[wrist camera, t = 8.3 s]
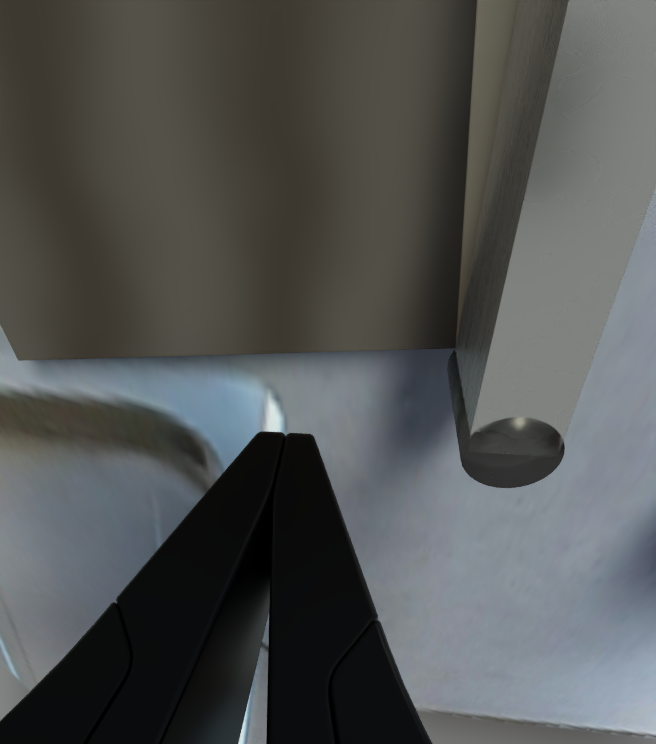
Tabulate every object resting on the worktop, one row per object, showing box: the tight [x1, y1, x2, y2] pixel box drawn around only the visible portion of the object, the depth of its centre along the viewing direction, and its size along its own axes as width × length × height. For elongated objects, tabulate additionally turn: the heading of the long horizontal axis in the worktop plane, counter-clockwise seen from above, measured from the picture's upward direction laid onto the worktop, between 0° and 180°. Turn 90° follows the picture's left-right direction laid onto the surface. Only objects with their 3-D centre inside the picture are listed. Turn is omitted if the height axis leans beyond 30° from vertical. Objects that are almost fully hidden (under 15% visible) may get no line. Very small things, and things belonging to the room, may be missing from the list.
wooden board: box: [0, 0, 519, 360], centre depth 16 cm, size 20×16×2 cm
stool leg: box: [447, 0, 656, 488], centre depth 14 cm, size 18×3×4 cm, turn 179°
